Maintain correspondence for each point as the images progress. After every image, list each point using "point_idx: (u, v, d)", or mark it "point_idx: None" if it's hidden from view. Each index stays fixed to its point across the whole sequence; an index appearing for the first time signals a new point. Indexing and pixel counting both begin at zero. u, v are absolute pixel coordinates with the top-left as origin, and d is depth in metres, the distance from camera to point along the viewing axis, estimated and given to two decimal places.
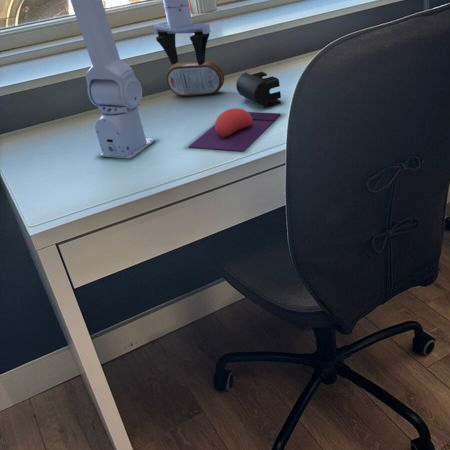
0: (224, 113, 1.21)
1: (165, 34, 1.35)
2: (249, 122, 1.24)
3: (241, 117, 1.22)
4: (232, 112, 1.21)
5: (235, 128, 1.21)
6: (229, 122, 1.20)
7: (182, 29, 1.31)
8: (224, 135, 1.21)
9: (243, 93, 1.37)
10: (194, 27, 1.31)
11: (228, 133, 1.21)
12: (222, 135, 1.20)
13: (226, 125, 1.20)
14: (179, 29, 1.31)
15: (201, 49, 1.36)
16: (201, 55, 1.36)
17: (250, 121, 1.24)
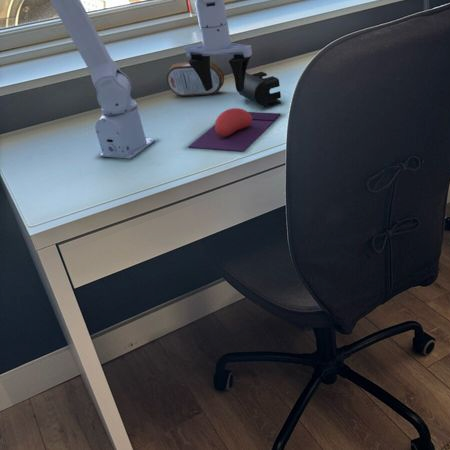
0: (224, 113, 1.21)
1: (199, 57, 1.18)
2: (249, 122, 1.24)
3: (241, 117, 1.22)
4: (232, 112, 1.21)
5: (235, 128, 1.21)
6: (229, 122, 1.20)
7: (220, 52, 1.14)
8: (224, 135, 1.21)
9: (243, 93, 1.37)
10: (234, 49, 1.14)
11: (228, 133, 1.21)
12: (222, 135, 1.20)
13: (226, 125, 1.20)
14: (216, 52, 1.14)
15: (241, 74, 1.18)
16: (240, 81, 1.18)
17: (250, 121, 1.24)
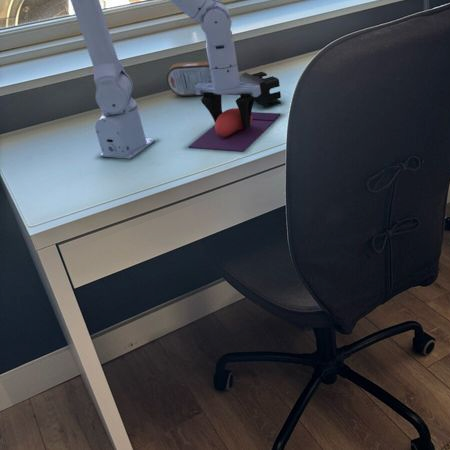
0: (224, 113, 1.21)
1: (211, 95, 1.20)
2: None
3: None
4: (232, 112, 1.21)
5: (235, 128, 1.21)
6: (229, 122, 1.20)
7: (230, 92, 1.16)
8: (224, 135, 1.21)
9: None
10: (243, 90, 1.16)
11: (228, 133, 1.21)
12: (222, 135, 1.20)
13: (226, 125, 1.20)
14: (226, 92, 1.16)
15: (247, 112, 1.21)
16: (247, 118, 1.21)
17: (250, 121, 1.24)
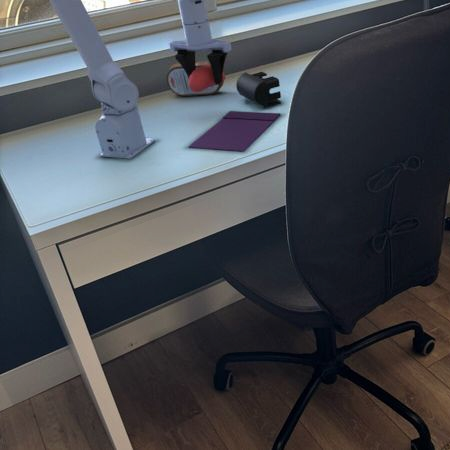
0: (197, 69, 1.27)
1: (185, 52, 1.26)
2: (222, 79, 1.30)
3: None
4: (204, 68, 1.27)
5: (208, 83, 1.27)
6: (202, 78, 1.26)
7: (201, 47, 1.22)
8: (197, 90, 1.27)
9: (243, 93, 1.37)
10: (214, 45, 1.22)
11: (201, 88, 1.27)
12: (195, 90, 1.26)
13: (198, 80, 1.26)
14: (198, 47, 1.22)
15: (219, 68, 1.27)
16: (219, 74, 1.27)
17: (223, 78, 1.30)
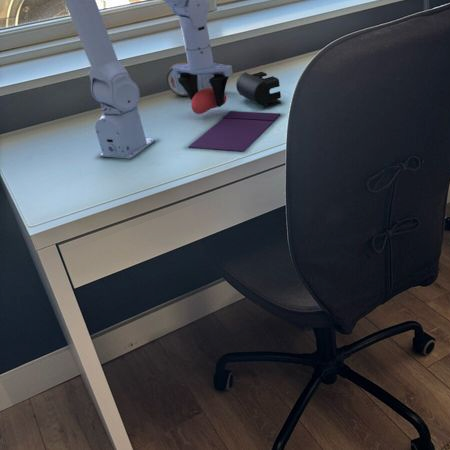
0: (199, 92, 1.31)
1: (187, 75, 1.31)
2: None
3: None
4: (206, 91, 1.31)
5: (210, 106, 1.32)
6: (204, 100, 1.30)
7: (203, 71, 1.27)
8: (199, 112, 1.31)
9: (243, 93, 1.37)
10: (216, 69, 1.26)
11: (203, 110, 1.31)
12: (197, 112, 1.31)
13: (201, 102, 1.30)
14: (200, 71, 1.27)
15: (220, 91, 1.31)
16: (220, 97, 1.31)
17: (224, 100, 1.34)
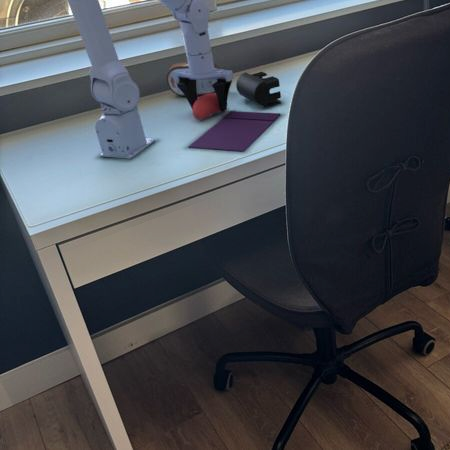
0: (201, 98, 1.32)
1: (186, 80, 1.31)
2: None
3: (217, 102, 1.33)
4: (208, 97, 1.32)
5: (211, 111, 1.32)
6: (205, 106, 1.31)
7: (204, 76, 1.27)
8: (201, 118, 1.31)
9: (243, 93, 1.37)
10: (217, 75, 1.27)
11: (204, 116, 1.32)
12: (199, 118, 1.31)
13: (202, 108, 1.31)
14: (201, 76, 1.27)
15: (224, 96, 1.31)
16: (223, 102, 1.32)
17: None
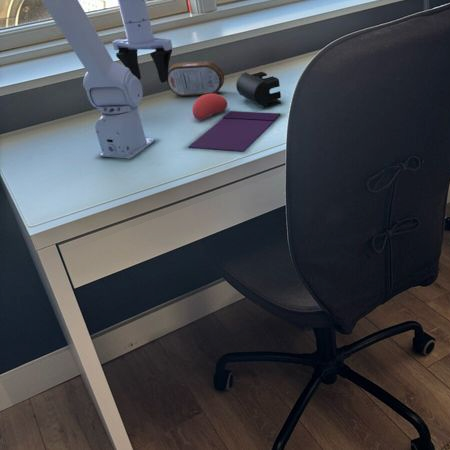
0: (201, 98, 1.32)
1: (126, 50, 1.28)
2: (224, 106, 1.35)
3: (217, 102, 1.33)
4: (208, 97, 1.32)
5: (211, 111, 1.32)
6: (205, 106, 1.31)
7: (142, 45, 1.24)
8: (201, 118, 1.32)
9: (243, 93, 1.37)
10: (155, 43, 1.24)
11: (204, 116, 1.32)
12: (199, 118, 1.31)
13: (202, 108, 1.31)
14: (139, 45, 1.24)
15: (164, 66, 1.28)
16: (163, 72, 1.29)
17: (225, 105, 1.35)
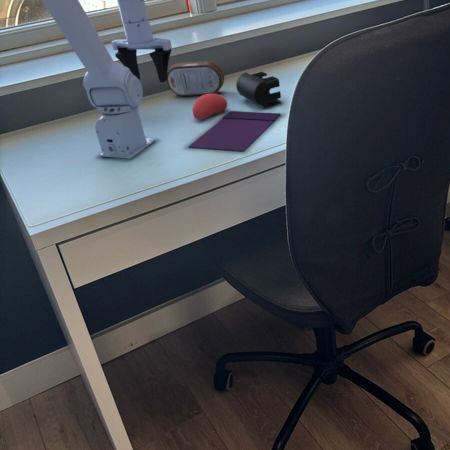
0: (201, 98, 1.32)
1: (125, 50, 1.28)
2: (224, 106, 1.35)
3: (217, 102, 1.33)
4: (208, 97, 1.32)
5: (211, 111, 1.32)
6: (205, 106, 1.31)
7: (141, 45, 1.24)
8: (201, 118, 1.31)
9: (243, 93, 1.37)
10: (154, 43, 1.24)
11: (204, 116, 1.32)
12: (199, 118, 1.31)
13: (202, 108, 1.31)
14: (138, 45, 1.24)
15: (163, 66, 1.28)
16: (163, 72, 1.29)
17: (225, 105, 1.35)
